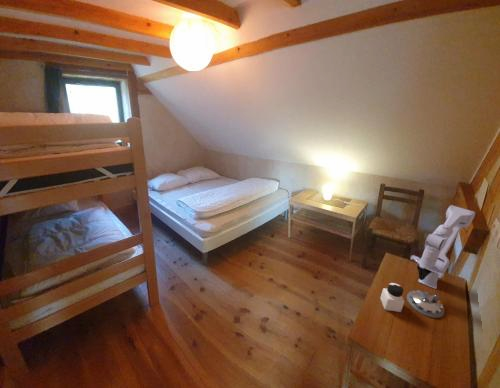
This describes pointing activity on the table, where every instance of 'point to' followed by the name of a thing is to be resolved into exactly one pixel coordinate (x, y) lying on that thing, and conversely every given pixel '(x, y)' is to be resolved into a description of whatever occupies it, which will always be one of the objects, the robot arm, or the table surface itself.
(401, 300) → the medicine bottle
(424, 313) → the sprocket base
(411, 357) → the table surface
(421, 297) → the sprocket
